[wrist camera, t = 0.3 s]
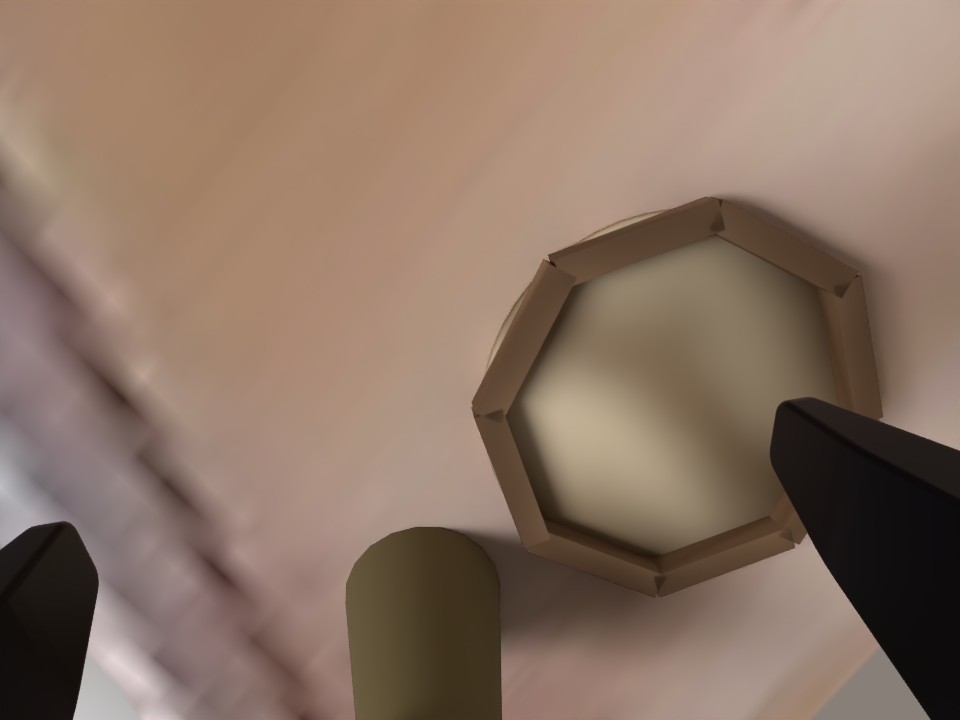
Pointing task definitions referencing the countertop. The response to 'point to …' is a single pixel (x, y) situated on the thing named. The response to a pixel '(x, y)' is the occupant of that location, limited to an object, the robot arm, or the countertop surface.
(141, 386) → the countertop surface
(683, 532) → the tray
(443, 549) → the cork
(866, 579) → the robot arm
